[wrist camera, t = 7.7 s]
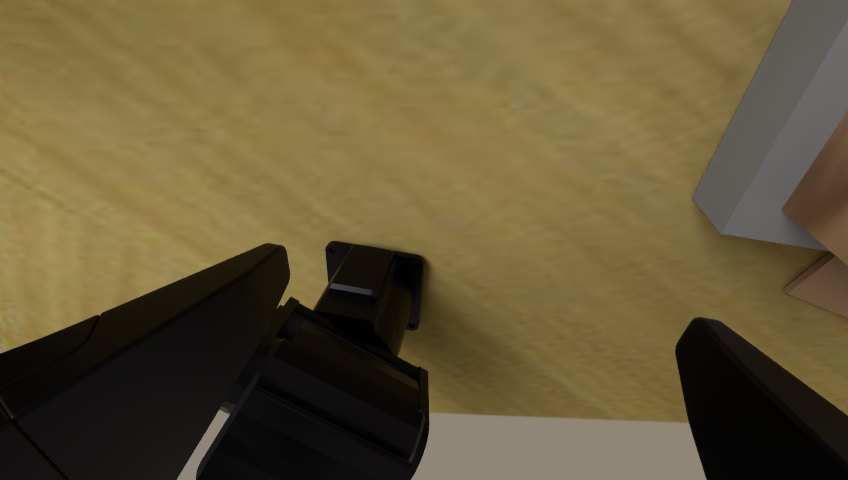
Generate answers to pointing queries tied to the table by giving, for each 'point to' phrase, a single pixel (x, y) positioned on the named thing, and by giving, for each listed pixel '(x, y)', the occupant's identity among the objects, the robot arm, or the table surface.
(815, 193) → the walnut cube
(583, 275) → the table surface
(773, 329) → the table surface
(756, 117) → the base block
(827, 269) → the walnut swatch
